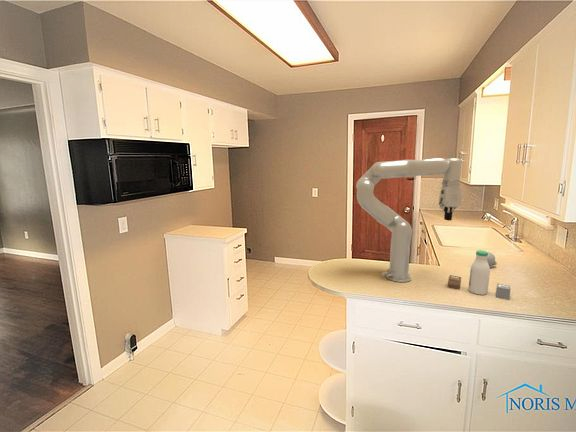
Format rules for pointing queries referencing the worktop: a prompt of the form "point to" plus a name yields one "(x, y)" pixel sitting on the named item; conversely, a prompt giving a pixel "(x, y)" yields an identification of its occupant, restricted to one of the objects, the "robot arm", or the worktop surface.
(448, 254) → the worktop surface
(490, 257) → the chubby cartoon animal
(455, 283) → the walnut block
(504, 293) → the slate grey block
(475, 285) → the milk bottle
